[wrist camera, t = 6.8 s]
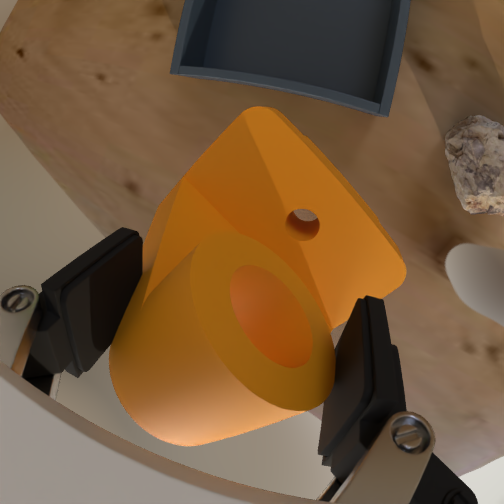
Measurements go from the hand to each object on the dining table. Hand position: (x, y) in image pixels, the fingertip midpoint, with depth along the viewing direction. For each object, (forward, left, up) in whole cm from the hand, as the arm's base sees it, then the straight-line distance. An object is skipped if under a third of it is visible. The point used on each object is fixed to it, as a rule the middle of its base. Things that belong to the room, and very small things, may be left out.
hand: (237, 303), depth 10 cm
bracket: (-1, 0, -8) cm, 8 cm away
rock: (-17, -7, -22) cm, 29 cm away
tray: (+3, -17, -22) cm, 28 cm away
